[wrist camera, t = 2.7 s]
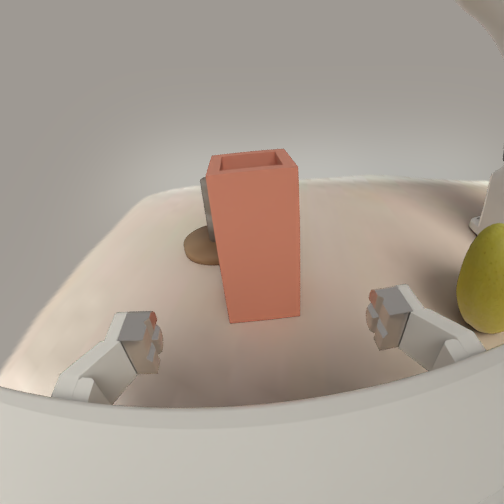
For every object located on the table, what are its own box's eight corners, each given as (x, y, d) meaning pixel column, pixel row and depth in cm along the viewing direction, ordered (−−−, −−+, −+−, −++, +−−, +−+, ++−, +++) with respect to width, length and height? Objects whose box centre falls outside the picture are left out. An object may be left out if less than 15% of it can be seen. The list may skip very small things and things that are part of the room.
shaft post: (235, 223, 40) (228, 164, 36) (267, 249, 34) (262, 178, 29) (177, 242, 37) (164, 180, 33) (198, 273, 31) (183, 199, 26)
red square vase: (299, 315, 24) (297, 166, 18) (230, 323, 24) (205, 176, 18) (289, 275, 29) (283, 148, 23) (230, 282, 29) (211, 155, 23)
